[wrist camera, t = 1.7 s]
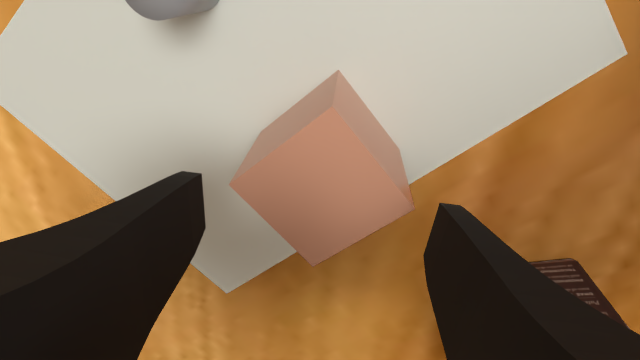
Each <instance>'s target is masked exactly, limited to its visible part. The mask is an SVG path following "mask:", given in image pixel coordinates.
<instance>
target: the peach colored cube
mask: <svg viewBox="0 0 640 360" xmlns="http://www.w3.org/2000/svg"><path fill="white" fill-rule="evenodd" d="M229 186H230V187H231V188H232V189H233V190H235V191H236V192H237V193H238V194H239V195H240V196H241V197H242V198H243V199H244V200H245V201H246V202H247V203H248V204H249V205H250V206H251V207H252V208H253V209H254V210H255V211H256V212H257V213H258V214H259V215H260V216H261V217H262V218H263V219H264V220H265V221H266V222H267V223H268V224H269V225H270V226H271V227H272V228H273V229H274V230H275V231H277V232H278V233H279V234H280V235H281V236H282V237H283V238H284V239H285V240H286V241H287V242H288V243H289V244H290V245H291V246H292V247H293V248H294V249H295V250H296V251H297V252H298V253H299V254H300V255H301V256H302V257H303V258H304V259H305V260H306V261H307V262H308V263H309V264H310V265H311V266H312V267H314V266H315V265H317V264H319V263H321V262H322V261H324V260H326V259H328V258H329V257H331V256H333V255H335V254H337V253H338V252H340V251H342V250H344V249H345V248H347V247H349V246H351V245H352V244H354V243H356V242H358V241H360V240H361V239H363V238H365V237H367V236H368V235H370V234H372V233H374V232H375V231H377V230H379V229H381V228H382V227H384V226H386V225H388V224H390V223H391V222H393V221H395V220H397V219H398V218H400V217H402V216H404V215H405V214H407V213H409V212H411V211H412V210H414V209H415V207H414V203H413V199H412V195H411V192H410V188H409V184H408V180H407V176H406V173H405V169H404V165H403V161H402V157H401V154H400V150H399V148H398V147H397V145H396V144H395V143H394V141H393V140H392V139H391V137H390V136H389V135H388V134H387V132H386V131H385V130H384V128H383V127H382V126H381V124H380V123H379V122H378V120H377V119H376V118H375V116H374V115H373V114H372V113H371V111H370V110H369V109H368V107H367V106H366V105H365V103H364V102H363V101H362V99H361V98H360V97H359V96H358V94H357V93H356V92H355V90H354V89H353V88H352V86H351V85H350V84H349V82H348V81H347V80H346V78H345V77H344V76H343V75H342V73H341V72H340V71H339V70H337V71H336V72H335V73H334V74H332V75H331V76H330V77H329V78H327V79H326V80H325V81H324V82H322V83H321V84H320V85H318V86H317V87H316V88H315V89H313V90H312V91H311V92H310V93H308V94H307V95H306V96H305V97H303V98H302V99H301V100H300V101H298V102H297V103H296V104H295V105H293V106H292V107H291V108H290V109H288V110H287V111H286V112H285V113H283V114H282V115H281V116H280V117H278V118H277V119H276V120H275V121H273V122H272V123H271V124H270V125H268V126H267V127H266V128H265V129H263V130H262V131H261V132H260V134H259V136H258V137H257V139H256V141H255V142H254V144H253V145H252V147H251V149H250V150H249V152H248V154H247V155H246V157H245V159H244V160H243V162H242V164H241V165H240V167H239V169H238V170H237V172H236V173H235V175H234V177H233V178H232V180H231V182H230V183H229Z"/></svg>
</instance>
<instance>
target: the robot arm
mask: <svg viewBox="0 0 640 360" xmlns="http://www.w3.org/2000/svg"><path fill="white" fill-rule="evenodd" d="M205 229H206V224H205V211H204V197H203V184H202V173H194V172H186V171H181V172H178V173H175V174H173V175H171V176H168V177H166V178H164V179H162V180H160V181H158V182H156V183H154V184H152V185H150V186H148V187H146V188H143V189H141V190H139V191H137V192H135V193H133V194H131V195H129V196H127V197H125V198H123V199H120V200H118V201H116V202H113V203H111V204H109V205H107V206H104V207H102V208H100V209H97V210H95V211H93V212H90V213H88V214H86V215H83V216H81V217H78V218H75V219H73V220H70V221H67V222H64V223H61V224H59V225H56V226H53V227H50V228H47V229H44V230H41V231H38V232H35V233H31V234H28V235H24V236H21V237H17V238H14V239H10V240H7V241H3V242H0V360H137V359H138V356H139V354H140V352H141V350H142V348H143V346H144V344H145V341H146V339H147V337H148V335H149V333H150V331H151V329H152V327H153V325H154V323H155V321H156V320H157V318H158V316H159V314H160V313H161V311H162V309H163V308H164V306H165V304H166V303H167V301H168V299H169V298H170V296H171V294H172V293H173V291H174V289H175V288H176V286H177V284H178V283H179V281H180V279H181V278H182V276H183V274H184V272H185V271H186V269H187V267H188V266H189V264H190V262H191V260H192V259H193V257H194V255H195V253H196V251H197V248H198V246H199V244H200V241H201V239H202V236H203V234H204V231H205ZM424 265H425V273H426V281H427V287H428V291H429V295H430V298H431V302H432V306H433V310H434V313H435V317H436V321H437V324H438V328H439V332H440V335H441V339H442V343H443V346H444V350H445V354H446V358H447V360H640V335H639V334H637V333H636V332H634V331H632V330H630V329H628V328H627V327H625V326H623V325H622V324H620V323H618V322H617V321H615V320H613V319H611V318H610V317H608V316H606V315H605V314H603V313H601V312H599V311H598V310H596V309H595V308H593V307H591V306H590V305H588V304H587V303H585V302H583V301H582V300H580V299H579V298H577V297H576V296H574V295H573V294H571V293H570V292H568V291H567V290H565V289H564V288H563V287H561V286H560V285H558V284H557V283H555V282H554V281H552V280H551V279H550V278H548V277H547V276H545V275H544V274H543V273H541V272H540V271H539V270H538V269H536V268H535V267H534V266H532V265H531V264H530V263H529V262H527V261H526V260H525V259H523V258H522V257H521V256H520V255H519V254H517V253H516V252H515V251H514V250H512V249H511V248H510V247H509V246H508V245H506V244H505V243H504V242H503V241H502V240H501V239H499V238H498V237H497V236H496V235H495V234H494V233H493V232H491V231H490V230H489V229H488V228H487V227H486V226H485V225H483V224H482V223H481V222H480V221H479V220H478V219H477V218H475V217H474V216H473V215H472V214H471V213H470V212H468V211H467V210H466V209H465V208H463V207H462V206H460V205H453V204H445V203H440V204H439V207H438V210H437V214H436V217H435V220H434V223H433V227H432V230H431V233H430V236H429V239H428V243H427V246H426V249H425V252H424Z"/></svg>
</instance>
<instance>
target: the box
mask: <svg viewBox="0 0 640 360" xmlns="http://www.w3.org/2000/svg"><path fill="white" fill-rule="evenodd" d="M530 264H531V265H532V266H534V267H535V268H536V269H538V270H539V271H540V272H541V273H543V274H544V275H545V276H547V277H548V278H550V279H551V280H552V281H554V282H555V283H557V284H558V285H560V286H561V287H563V288H564V289H565V290H567V291H568V292H570V293H571V294H573V295H574V296H576V297H577V298H579V299H580V300H582V301H583V302H585V303H587V304H588V305H590V306H591V307H593V308H595V309H596V310H598V311H599V312H601V313H603V314H605V315H606V316H608V317H610V318H611V319H613V320H615V321H617V322H618V323H620V324H622V325H623V326H625V327H627V328H628V329H629V327H628V326H627V325H626V324H625V323H624V321H623V320H622V319H621V317H620V316H619V314H618V313H617V312H616V311H615V309H614V308H613V307H612V305H611V304H610V303H609V301H608V300H607V299H606V298H605V296H604V295H603V294H602V292H601V291H600V290H599V288H598V287H597V286H596V285H595V283H594V282H593V281H592V279H591V278H590V277H589V275H588V274H587V273H586V272H585V270H584V269H583V268H582V266H581V265H580V264H579V262H578V261H576V260H573V259H561V260H549V261H541V262H532V263H530Z"/></svg>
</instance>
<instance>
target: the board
mask: <svg viewBox="0 0 640 360" xmlns="http://www.w3.org/2000/svg"><path fill="white" fill-rule="evenodd" d="M626 54H627V51H626V49H625V47H624V44H623V42H622V40H621V37H620V35H619V33H618V30H617V28H616V25H615V23H614V21H613V18H612V16H611V14H610V11H609V9H608V7H607V4H606V2H605V0H24V2H23V3H22V5H21V6H20V8H19V9H18V10H17V12H16V13H15V15H14V16H13V18H12V19H11V21H10V22H9V24H8V25H7V27H6V28H5V30H4V31H3V33H2V34H1V36H0V105H1V106H2V107H3V108H5V109H6V110H7V111H8V112H9V113H11V114H12V115H13V116H14V117H15V118H17V119H18V120H19V121H20V122H21V123H23V124H24V125H25V126H26V127H27V128H29V129H30V130H31V131H32V132H33V133H35V134H36V135H37V136H38V137H39V138H41V139H42V140H43V141H44V142H45V143H47V144H48V145H49V146H50V147H51V148H53V149H54V150H55V151H56V152H57V153H59V154H60V155H61V156H62V157H63V158H65V159H66V160H67V161H68V162H69V163H71V164H72V165H73V166H74V167H75V168H77V169H78V170H79V171H80V172H81V173H83V174H84V175H85V176H86V177H87V178H89V179H90V180H91V181H92V182H93V183H95V184H96V185H97V186H98V187H99V188H101V189H102V190H103V191H104V192H105V193H107V194H108V195H109V196H110V197H111V198H113V199H114V200H115V201H118V200H120V199H123V198H125V197H127V196H129V195H131V194H133V193H135V192H137V191H139V190H141V189H143V188H146V187H148V186H150V185H152V184H154V183H156V182H158V181H160V180H162V179H164V178H166V177H168V176H171V175H173V174H175V173H178V172H181V171H186V172H194V173H202V184H203V197H204V211H205V224H206V229H205V231H204V234H203V236H202V239H201V241H200V244H199V246H198V248H197V251H196V253H195V255H194V257H193V259H192V260H191V262H190V263H191V264H192V265H193V266H194V267H195V268H197V269H198V270H199V271H200V272H201V273H203V274H204V275H205V276H206V277H207V278H209V279H210V280H211V281H212V282H213V283H215V284H216V285H217V286H218V287H219V288H221V289H222V290H223V291H224V292H225V293H229V292H231V291H232V290H234V289H236V288H237V287H239V286H241V285H242V284H244V283H246V282H247V281H249V280H251V279H252V278H254V277H256V276H257V275H259V274H261V273H262V272H264V271H266V270H267V269H269V268H271V267H272V266H274V265H276V264H277V263H279V262H281V261H282V260H284V259H286V258H287V257H289V256H291V255H292V254H294V253H296V252H297V251H296V250H295V249H294V248H293V247H292V246H291V245H290V244H289V243H288V242H287V241H286V240H285V239H284V238H283V237H282V236H281V235H280V234H279V233H278V232H277V231H275V230H274V229H273V228H272V227H271V226H270V225H269V224H268V223H267V222H266V221H265V220H264V219H263V218H262V217H261V216H260V215H259V214H258V213H257V212H256V211H255V210H254V209H253V208H252V207H251V206H250V205H249V204H248V203H247V202H246V201H245V200H244V199H243V198H242V197H241V196H240V195H239V194H238V193H237V192H236V191H235V190H233V189H232V188H231V187H230V186H229V183H230V182H231V180H232V178H233V177H234V175H235V173H236V172H237V170H238V169H239V167H240V165H241V164H242V162H243V160H244V159H245V157H246V155H247V154H248V152H249V150H250V149H251V147H252V145H253V144H254V142H255V141H256V139H257V137H258V136H259V134H260V132H261V131H262V130H263V129H265V128H266V127H267V126H268V125H270V124H271V123H272V122H273V121H275V120H276V119H277V118H278V117H280V116H281V115H282V114H283V113H285V112H286V111H287V110H288V109H290V108H291V107H292V106H293V105H295V104H296V103H297V102H298V101H300V100H301V99H302V98H303V97H305V96H306V95H307V94H308V93H310V92H311V91H312V90H313V89H315V88H316V87H317V86H318V85H320V84H321V83H322V82H324V81H325V80H326V79H327V78H329V77H330V76H331V75H332V74H334V73H335V72H336V71H337V70H339V71H340V72H341V73H342V75H343V76H344V77H345V78H346V80H347V81H348V82H349V84H350V85H351V86H352V88H353V89H354V90H355V92H356V93H357V94H358V96H359V97H360V98H361V99H362V101H363V102H364V103H365V105H366V106H367V107H368V109H369V110H370V111H371V113H372V114H373V115H374V116H375V118H376V119H377V120H378V122H379V123H380V124H381V126H382V127H383V128H384V130H385V131H386V132H387V134H388V135H389V136H390V137H391V139H392V140H393V141H394V143H395V144H396V145H397V147H398V148H399V150H400V154H401V157H402V161H403V165H404V169H405V173H406V176H407V180H408V184H411V183H413V182H414V181H416V180H418V179H419V178H421V177H423V176H424V175H426V174H428V173H429V172H431V171H433V170H434V169H436V168H438V167H439V166H441V165H443V164H444V163H446V162H448V161H449V160H451V159H453V158H454V157H456V156H458V155H459V154H461V153H463V152H464V151H466V150H468V149H469V148H471V147H473V146H474V145H476V144H478V143H479V142H481V141H483V140H484V139H486V138H488V137H489V136H491V135H493V134H494V133H496V132H498V131H499V130H501V129H503V128H504V127H506V126H508V125H509V124H511V123H513V122H514V121H516V120H518V119H519V118H521V117H523V116H524V115H526V114H528V113H529V112H531V111H533V110H534V109H536V108H538V107H540V106H541V105H543V104H545V103H546V102H548V101H550V100H551V99H553V98H555V97H556V96H558V95H560V94H561V93H563V92H565V91H566V90H568V89H570V88H571V87H573V86H575V85H576V84H578V83H580V82H581V81H583V80H585V79H586V78H588V77H590V76H591V75H593V74H595V73H596V72H598V71H600V70H601V69H603V68H605V67H606V66H608V65H610V64H611V63H613V62H615V61H616V60H618V59H620V58H621V57H623V56H625V55H626Z"/></svg>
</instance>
